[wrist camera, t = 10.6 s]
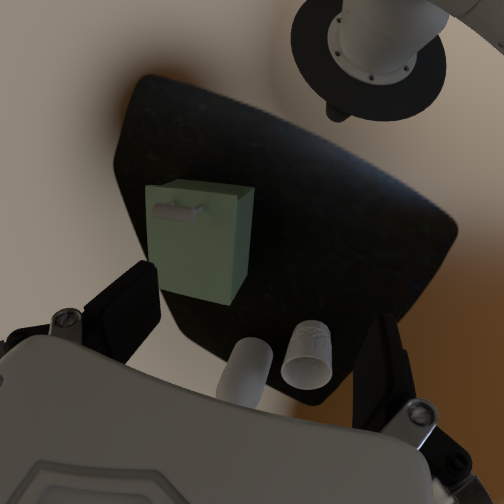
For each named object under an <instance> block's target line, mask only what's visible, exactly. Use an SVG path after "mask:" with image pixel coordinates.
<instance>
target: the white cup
mask: <svg viewBox="0 0 504 504" xmlns="http://www.w3.org/2000/svg"><path fill="white" fill-rule="evenodd" d="M281 374H282V377H283V379H284V380H285V381H286V382H287V383H288V384H290V385H291V386H293V387H296V388H299V389H305V390H310V389H317V388H320V387H322V386H324V385H325V384H327V383H328V382H329V380H330V379H331V376H332V350H331V341H330V331H329V329H328V327H327V326H326V325H325V324H323V323H322V322H320V321H316V320H307V321H303V322H301V323H300V324H298V325H297V326H296V328H295V329H294V331H293V334H292V338H291V340H290V343H289V346H288V349H287V352H286V355H285V359H284V362H283V365H282V369H281Z"/></svg>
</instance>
